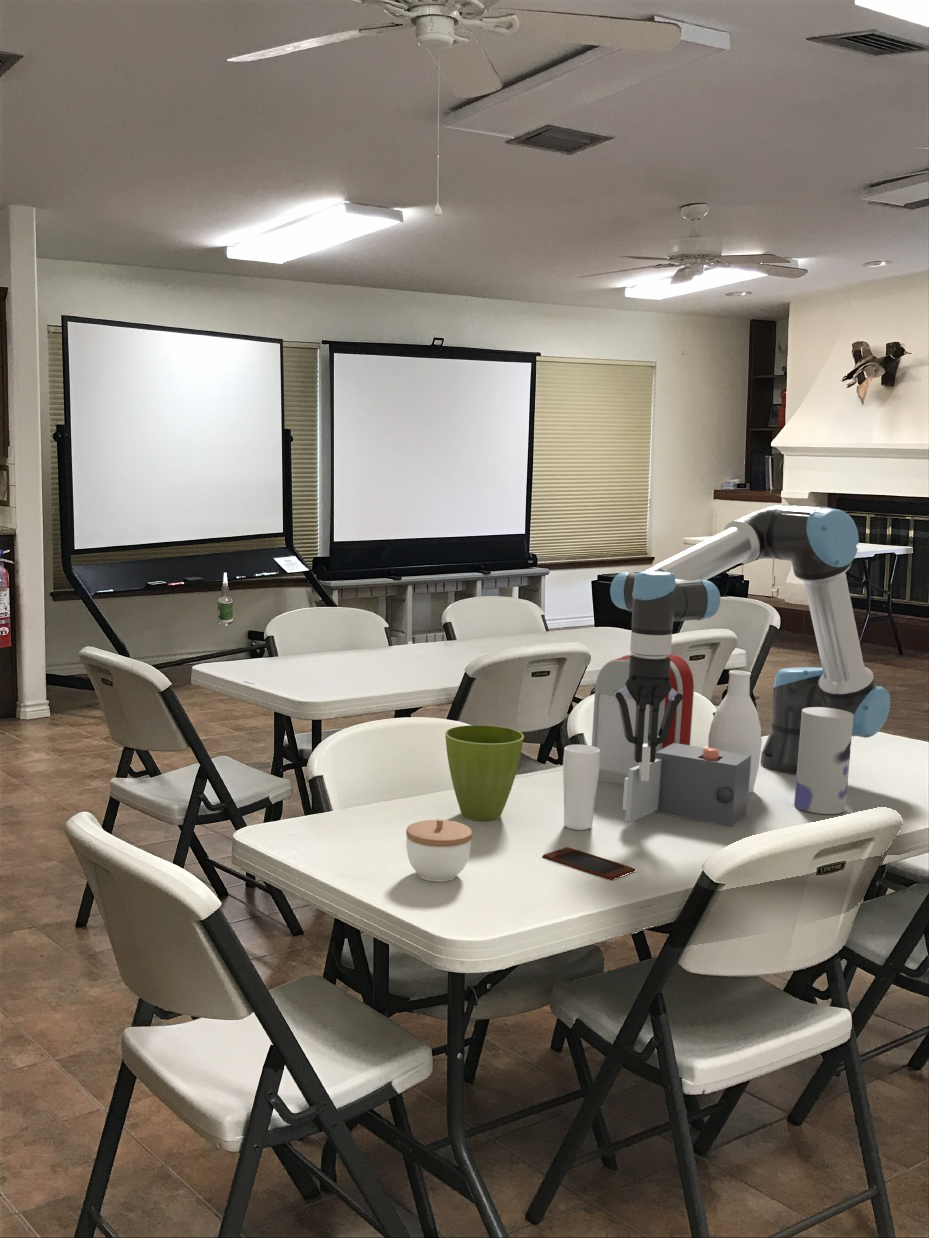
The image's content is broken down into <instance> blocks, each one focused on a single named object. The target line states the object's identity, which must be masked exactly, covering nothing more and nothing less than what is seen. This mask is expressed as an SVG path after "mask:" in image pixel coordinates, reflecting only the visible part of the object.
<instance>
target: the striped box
mask: <svg viewBox="0 0 929 1238" xmlns="http://www.w3.org/2000/svg"><path fill="white" fill-rule="evenodd" d="M631 655H633V653H629V654H626V655H623V656H621V657H618V658H615V659H612V660H611V659H610V660H609V661H607V662H606V663H605V664H604V665H603V666H602V667H601V669H600V670H599V672H598V675H597V678H596V681H595V686H594V696H593V697H594V700H593V703H594V704H593V717H592V718H593V719H592V734H591V735H592V736H591V746H594V747H597V748H599V749H600V769H599V777H598V781H604V782H608V783H612V784H613V783H614V784H619V785H623V786H624V781H625V778H627V777H628V769H630V768H633V767H636V766H638V765H639V762H636V761H635V759H634V749H635V745H634V744H633V743H630V742H628V741H627V739H626V738H625V734H624V728H623V723H622V718H621V713H620V708H619V703H618V701H617V699H616V698H615V696H614V694H613V693H614V691H615V690H618V691H619V690H620V689H622V688H623V687H625V686H626V682H627V680H628V678H629V662H630V656H631ZM668 657H669V658H670V659H671V663H670V682H671V685H672V688H673V689H674V690H675V691H678V692H680V693H681V694H682V695H683V699H682V700H681V701H680V703H679V704H678V705H677V708H676V711H675V714H674V718H673V721H672V724H671V727H670V731H669V734H668V737H667V741H666V742H665V743H661V744H658V745H657V747H656V752H658V751H660V750H661V749H663V748H665V747H667V746H669V745H670V744H672V743H678V744H684V745H691V737H692V723H693V711H694V709H693V707H694V694H695V679H694V674H693V671H692V668H691V666H690V665H689V663H688V661H686V659H685V658H684V657H682V656H680V655H677V654H673V653H671V654H670V655H668ZM627 695H628V699H627V700H626V702H627V705H628V710H629V716H630V721H631V726H632V731H633V736H635V719H636V702H635V701H634V699H633V698H632V696H631V695H630V693H629V692H628V694H627ZM668 695H669V693H668V694H667V696H666V697H665V698H664V699H663V701H662V702H661V703H660V708H659V714H658V732H657V736H658V733H659V729H660V726H661V723H662V720H663V716H664V713H665V710H666V707H667V703H668V701H669V699H668ZM648 726H649V704H648V705H646V710H645V723H644V741H643V744H648ZM655 759H656V755H655Z"/></svg>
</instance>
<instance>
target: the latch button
mask: <svg viewBox="0 0 929 1238" xmlns="http://www.w3.org/2000/svg"><path fill="white" fill-rule="evenodd" d="M703 748H704V749H703V759H708V760H714V761H718V757H719V750H718V749H715V748H708V747H703Z"/></svg>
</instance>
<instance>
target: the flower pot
mask: <svg viewBox="0 0 929 1238" xmlns="http://www.w3.org/2000/svg"><path fill="white" fill-rule="evenodd" d="M444 737H445V745H446V746H445V747H446V756H447V761H448V768H449V772H450V778H451V782H452V783H451V784H452V787H453V790H454V794H455V796H456V801H457V804H458V807H459V810H460V813H461V815H462V817H464V818H465V819H467V820H471V821H475V822H477V821H478V822H488V821H489V822H490V821H495V820H498V819H499V818H500V817H501V816H502V814H503V811H504V808H505V806H506V804H507V802H508V799H509V796H510V793H511V791H512V789H513V788H512V787H513V785H514V782H515V779H516V775H517V772H518V769H519V764H520V759H521V754H522V749H523V743H524V740H525V739H524V738H525V736H524V734H523V733H522V732H521V731H519V730H517V729H512V728H509V727H504V726H498V725H497V726H496V725H490V724H489V725H487V724H486V725H485V724H484V725H483V724H473V725H472V724H471V725H469V724H468V725H461V726H455V727H451V728H449V729H447V730H446V731H445V735H444Z"/></svg>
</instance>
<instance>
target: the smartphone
mask: <svg viewBox="0 0 929 1238" xmlns="http://www.w3.org/2000/svg"><path fill="white" fill-rule="evenodd" d="M541 858H542V859H546V860H548V861H552V862H554V863H558V864H559V865H563V866H567V867H569V868H572V869H576V870H578V871H581V872H583V873H587V874H590V875H593V876H596V877H599V876H600V877H599V878H602V877H603V878H602V879H605V878H606V879H605V880H608V879H610V880H609V881H614V880H613V879H615V878H618V877H620V876H622V875H625V874H627V873H630V872H633V871H635V870H636V871H637V869H636V868H635V867H632V866H630V865H626V864H623V863H620V862H617V861H613V860H611V859H607V858H604V857H601V856H598V855H595V854H591V853H588V852H585V851H582V850H580V849H575V848H572V847H569V846H566V847H562V848H560V849H559V848H558V849H557V850H554V851H550V852H547V853H544V854H543V855H542V857H541ZM633 873H634V872H633ZM620 878H621V877H620ZM618 879H619V878H618ZM615 880H616V879H615Z"/></svg>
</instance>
